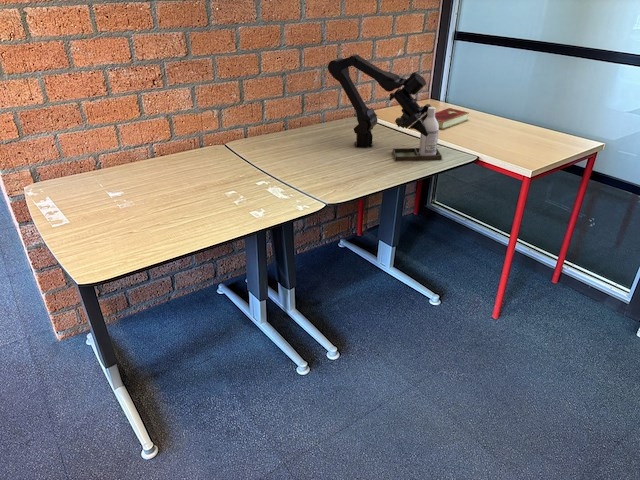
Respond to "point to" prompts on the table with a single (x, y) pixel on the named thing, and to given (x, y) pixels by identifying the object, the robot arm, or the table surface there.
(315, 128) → the table surface
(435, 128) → the bath foam
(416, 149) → the tray
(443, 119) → the hardcover book
